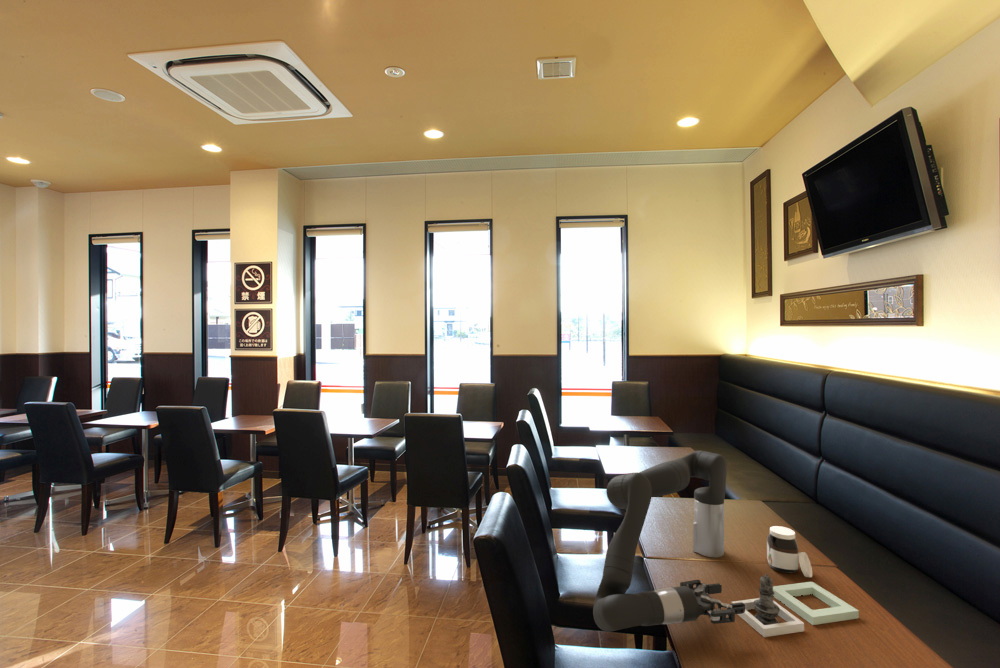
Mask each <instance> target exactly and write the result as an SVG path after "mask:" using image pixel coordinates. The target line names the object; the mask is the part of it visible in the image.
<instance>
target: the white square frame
mask: <svg viewBox="0 0 1000 668" xmlns="http://www.w3.org/2000/svg"><path fill="white" fill-rule="evenodd" d="M759 598H760V597H757V598H750V599H743V600H735V601H734V600H733V601H731V604H732V603H740V602H742V603H744V604H745V612H744V613H742V614H737V615H738V617H740V618H741V619H742V620H743V621H745V622H746V623H747V624H748V625H749V626H750V627H751V628H753V629H754V630H755V631H756V632H757V633H759V635H761V636H762V637H763V638H768V637H773V636H774V637H775V636H781V635H787V634H793V633H794V634H795V633H802V632H805V623H804V622H803V621H802V620H801V619H799V618H798V617H797V616H795V615H794V614H793V613H791V612H789V611H788V610H787V609H786V608H784V607H783V606H781V605H780V604H779V603H778V602H776V601H775V600H774V599H773V602H774V604H776V605H777V606H778V607H779V608H780V611H779V612H778V615H777V616H778V617H780V618H781V619H783V620H784V621H785V622H778V623H777V624H770V625H764V624H762V623H761V622H760V621H759V620H757V619H756V618H755V615H753V614H752V613H751V612H749V611H750V610H751V609H753V610H756V609H755V606H754V604H753V602H754V601H755V600H758V599H759Z"/></svg>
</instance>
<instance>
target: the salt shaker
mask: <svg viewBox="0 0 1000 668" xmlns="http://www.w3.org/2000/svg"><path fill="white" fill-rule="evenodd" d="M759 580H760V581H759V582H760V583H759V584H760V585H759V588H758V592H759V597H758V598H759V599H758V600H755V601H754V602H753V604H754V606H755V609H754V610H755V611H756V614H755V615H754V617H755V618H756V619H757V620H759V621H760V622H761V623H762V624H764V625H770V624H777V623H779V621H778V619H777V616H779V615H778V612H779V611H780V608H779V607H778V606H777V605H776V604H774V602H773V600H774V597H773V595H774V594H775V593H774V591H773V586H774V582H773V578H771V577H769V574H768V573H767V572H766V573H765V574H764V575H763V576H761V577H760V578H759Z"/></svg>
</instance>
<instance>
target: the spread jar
mask: <svg viewBox="0 0 1000 668" xmlns="http://www.w3.org/2000/svg"><path fill="white" fill-rule="evenodd" d="M766 537H767V538H766V557H767V563H768V566H769V567H770V568H771V569H773V570H774V569H775V570H774V571H776V570H777V571H776V572H779V571H780V572H779V573H783V572H785V573H784V574H793V573H796V572H798V570H799V566H800V570H801V572H802V574H803V576H804V577H805V578H813V569H812V563H811V561H810V559H809V558H810V557H809V556H808V554H807V553H806V552H805V551H800V552H799V545H798V543H797V540H796V532H795V530H792V529H791V528H789V527H785V526H782V525H781V526H780V525H779V526H778V525H773V526H770V527H769V533H768V534H767V536H766Z"/></svg>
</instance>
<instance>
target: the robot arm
mask: <svg viewBox="0 0 1000 668" xmlns="http://www.w3.org/2000/svg"><path fill="white" fill-rule="evenodd" d="M727 468H728V465H727V460H726V458H725V456H724V455H723V454H720V453H716V452H715V453H714V452H710V451H707V450H706V451H705V450H695V451H694V450H693V452H690V453H688V454H686V455H685V456H682V457H679V458H675V459H672V460H668V461H664V462H661V463H659V464H655V465H654V466H651V467H648V468H646V469H643V470H641V471H640V472H629V473H625V474H624V473H623V474H619V475H616V476H614V477H612V478H611V479H610V480H609V481H608V483H607V485H606V497H607V499H608V501H609V502H610V504H611V505H612V506H614V507H616V508H618V509H621V510H626V512H625V515H624V517H623V520H622V522H621V524H620V525H619V526H618V528H617V530H616V531H615V532H614V535H613V536H612V538H611V540H610V542H609V543H608V544H609V545H608V547H607V550H606V554H605V559H604V565H603V569H602V570H603V571H602V577H601V581H600V583H599V586H598V589H597V592H596V594H595V598H594V602H593V607H592V614H593V620H594V623H595V625H596V626H597V627H598V628H599V629H600V630H602V631H604V632H608V633H610V632H614V631H619V630H623V629H628V628H629V629H630V628H633V627H638V626H642V627H650V626H657V625H658V626H659V625H673V624H674V625H675V624H678V623H679V624H681V623H687V622H693V621H694V622H695V621H696V620H698V619H699V617H700V616H706V617H707V616H708V617H709V618H710V623H711V624H712V625H716V624H717V625H720V624H729V623H735V622H736V615H738V614H742V613H744V612H745V604H744V603H742V602H740V603H732V602H731V603H726V602H722V601H721V600H720V599H717V598H713V597H711V596H710V595H715V594H716V595H717V594H721V593H722V591H723V586H722V584H720V583H719V582H718V583H709V584H707V582H706V583H705V582H703V583H702V582H701V580H700V579H693V580H686V581H681V582H680V583H679V586H671V587H664V588H663V587H662V588H658V589H655V590H648V591H641V592H638V593H637V592H636V593H626V592H627V591H628V590H629V588H631V583H632V580H633V572H634V571H633V570H634V564H635V560H636V553H637V549H638V543H639V540H640V537H641V534H642V530H643V527H644V525H645V521H646V517H647V515H648V511H649V508H650V505H651V500H652V498H655V497H656V498H657V497H664V496H669V495H672V494H675V493H678V492H680V491H683V490H685V489H686V488H687V487H688V486H689V484H690V481H691V478H698V479H702V480H705V481H709V483H708V486H704V487H703V486H702V487H698V488H696V489H694V492H693V499H694V500H693V501H694V502H693V508H694V510H693V511H694V512H693V517H694V519H693V523H692V528H693V529H692V534H693V535H692V537H693V539H692V541H693V542H692V544H693V545H692V548H693V549H692V551H693V552H694V553H697V554H699V555H701V556H705V557H709V558H721V557H723V556H725V498H726V497H725V496H726V491H727V490H726V489H727V472H728V471H727V470H728V469H727ZM694 586H695V587H694ZM716 605H717V609H716V608H715V607H716ZM722 608H724V609H722Z"/></svg>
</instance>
